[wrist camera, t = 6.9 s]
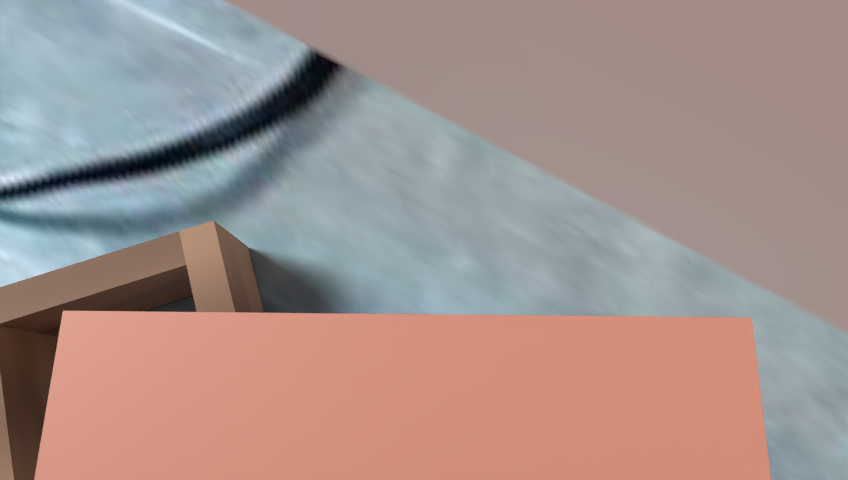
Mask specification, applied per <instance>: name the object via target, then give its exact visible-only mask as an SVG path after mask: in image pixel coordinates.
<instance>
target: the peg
mask: <svg viewBox="0 0 848 480" xmlns="http://www.w3.org/2000/svg"><path fill="white" fill-rule="evenodd" d="M34 480H771V475H770V466H769V458H768V450H767V442H766V433H765V425H764V417H763V408H762V400H761V392H760V383H759V375H758V367H757V359H756V350H755V342H754V334H753V325H752V318H735V317H637V316H538V315H440V314H342V313H243V312H145V311H63V313H62V319H61V324H60V330H59V336H58V342H57V348H56V354H55V360H54V366H53V372H52V378H51V383H50V389H49V395H48V401H47V407H46V413H45V419H44V425H43V431H42V437H41V442H40V448H39V454H38V460H37V466H36V472H35V478H34Z"/></svg>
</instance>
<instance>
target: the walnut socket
mask: <svg viewBox="0 0 848 480" xmlns="http://www.w3.org/2000/svg"><path fill="white" fill-rule="evenodd" d="M192 295H193V298H194V302H195V307H196V312H243V313H264V309H263V305H262V301H261V297H260V293H259V289H258V285H257V281H256V277H255V273H254V269H253V265H252V261H251V257H250V253H249V249H248V247H247V246H246V245H245V244H244V243H242V242H241V241H240V240H238V239H237V238H236V237H234V236H233V235H232V234H230V233H229V232H228V231H227V230H225V229H224V228H223V227H221V226H220V225H219V224H217V223H216V222H215V221H211V222H208V223H204V224H201V225H198V226H195V227H192V228H188V229H185V230H182V231H179V232H176V233H172V234H169V235H166V236H163V237H160V238H157V239H153V240H150V241H147V242H144V243H141V244H137V245H134V246H131V247H128V248H125V249H121V250H118V251H115V252H112V253H109V254H105V255H102V256H99V257H96V258H93V259H89V260H86V261H83V262H80V263H77V264H73V265H70V266H67V267H64V268H61V269H58V270H54V271H51V272H48V273H45V274H42V275H38V276H35V277H32V278H29V279H26V280H22V281H19V282H16V283H13V284H10V285H6V286H3V287H0V480H34V478H35V472H36V466H37V460H38V454H39V448H40V442H41V437H42V431H43V425H44V419H45V413H46V407H47V401H48V395H49V389H50V383H51V378H52V372H53V366H54V360H55V354H56V348H57V342H58V336H59V330H60V324H61V319H62V313H63V311H145V310H148V309H151V308H155V307H158V306H161V305H164V304H167V303H170V302H173V301H177V300H180V299H183V298H186V297H189V296H192Z"/></svg>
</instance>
